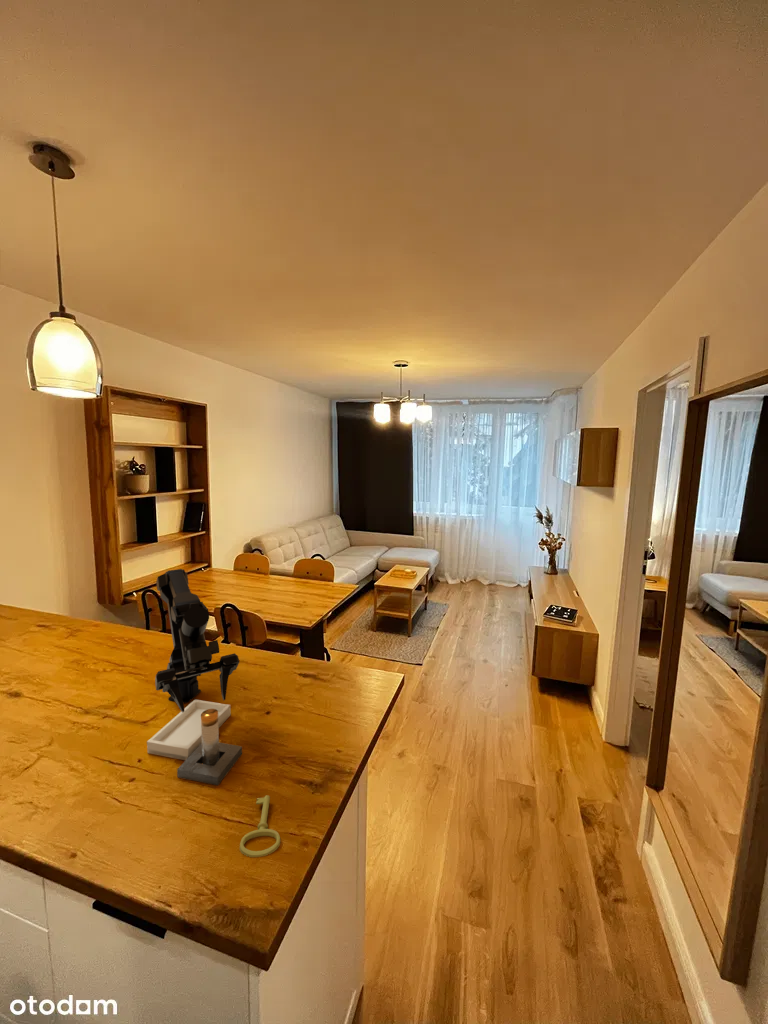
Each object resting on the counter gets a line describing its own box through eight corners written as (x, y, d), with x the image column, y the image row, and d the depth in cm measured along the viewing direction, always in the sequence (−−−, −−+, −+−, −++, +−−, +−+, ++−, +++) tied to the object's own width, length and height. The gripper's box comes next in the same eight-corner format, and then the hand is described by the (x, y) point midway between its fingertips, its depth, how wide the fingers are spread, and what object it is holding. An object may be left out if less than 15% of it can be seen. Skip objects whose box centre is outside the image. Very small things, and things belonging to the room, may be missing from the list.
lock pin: (199, 769, 96) (197, 717, 95) (208, 758, 100) (207, 707, 98) (213, 772, 96) (211, 719, 94) (222, 761, 99) (221, 710, 97)
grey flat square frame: (177, 777, 94) (177, 769, 94) (205, 747, 104) (204, 739, 103) (218, 785, 92) (217, 777, 92) (242, 754, 102) (242, 746, 101)
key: (269, 801, 89) (269, 792, 88) (282, 851, 78) (282, 841, 78) (233, 813, 86) (233, 804, 85) (242, 867, 75) (241, 856, 74)
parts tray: (147, 753, 101) (146, 741, 101) (195, 709, 119) (194, 699, 118) (188, 760, 99) (187, 749, 99) (230, 715, 116) (230, 705, 116)
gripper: (154, 639, 98) (162, 708, 90) (236, 623, 108) (250, 683, 101) (152, 658, 105) (159, 722, 98) (229, 641, 116) (241, 698, 108)
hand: (204, 705), depth 101 cm, fingers open, 9 cm apart
